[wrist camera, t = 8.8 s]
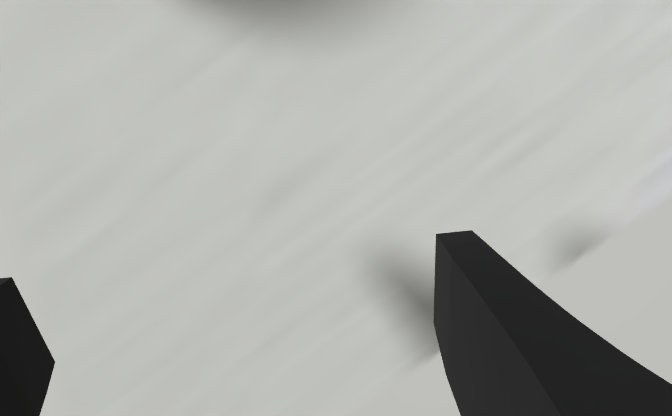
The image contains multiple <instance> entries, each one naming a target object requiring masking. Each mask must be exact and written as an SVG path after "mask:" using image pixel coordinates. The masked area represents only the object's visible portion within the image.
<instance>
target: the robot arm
mask: <svg viewBox="0 0 672 416" xmlns="http://www.w3.org/2000/svg"><path fill="white" fill-rule="evenodd" d="M434 326H435V330H436V335H437V339H438V343H439V347H440V352H441V356H442V360H443V363H444V368H445V372H446V375H447V378H448V381H449V384H450V387H451V390H452V392H453V395H454V398H455V400H456V403H457V406H458V409H459V412H460V414H461V416H672V384H670V383H669V382H667V381H665V380H664V379H662V378H661V377H659V376H658V375H656V374H654V373H653V372H651V371H650V370H648V369H646V368H645V367H643V366H642V365H640V364H639V363H637V362H636V361H634V360H633V359H631V358H630V357H628V356H627V355H626V354H624V353H623V352H621V351H620V350H618V349H617V348H615V347H614V346H613V345H611V344H610V343H608V342H607V341H606V340H604V339H603V338H602V337H600V336H599V335H597V334H596V333H595V332H593V331H592V330H591V329H589V328H588V327H587V326H585V325H584V324H582V323H581V322H580V321H578V320H577V319H576V318H575V317H573V316H572V315H570V314H569V313H568V312H567V311H565V310H564V309H563V308H562V307H561V306H559V305H558V304H557V303H556V302H554V301H553V300H552V299H551V298H549V297H548V296H547V295H546V294H544V293H543V292H542V291H541V290H540V289H538V288H537V287H536V286H535V285H534V284H532V283H531V282H530V281H529V280H528V279H527V278H525V277H524V276H523V275H522V274H521V273H520V272H519V271H517V270H516V269H515V268H514V267H513V266H512V265H510V264H509V263H508V262H507V261H506V260H505V259H504V258H502V257H501V256H500V255H499V254H498V253H497V252H496V251H495V250H493V249H492V248H491V247H490V246H489V245H488V244H487V243H486V242H484V241H483V240H482V239H481V238H480V237H479V236H477V235H476V234H475V233H474V232H473V231H472V230H471V231H461V232H451V233H441V234H436V256H435V292H434ZM54 364H55V361H54V359H53V357H52V355H51V353H50V351H49V349H48V347H47V345H46V343H45V341H44V339H43V337H42V336H41V334H40V332H39V330H38V328H37V326H36V324H35V322H34V320H33V318H32V316H31V314H30V312H29V310H28V308H27V306H26V304H25V302H24V300H23V298H22V297H21V295H20V292H19V290H18V288H17V286H16V285H15V283H14V281H13V279H12V277H10V278H0V416H39V415H40V412H41V408H42V406H43V403H44V399H45V396H46V393H47V390H48V386H49V382H50V379H51V375H52V371H53V368H54Z"/></svg>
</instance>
